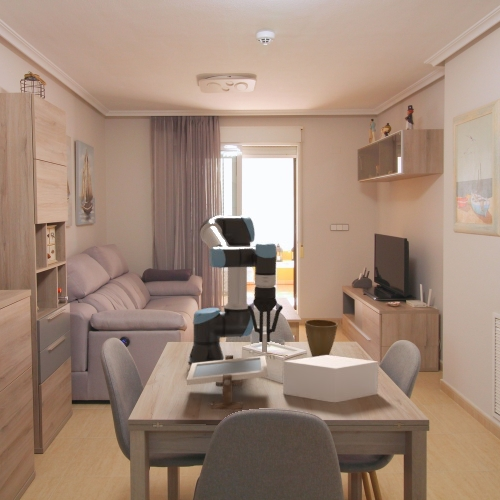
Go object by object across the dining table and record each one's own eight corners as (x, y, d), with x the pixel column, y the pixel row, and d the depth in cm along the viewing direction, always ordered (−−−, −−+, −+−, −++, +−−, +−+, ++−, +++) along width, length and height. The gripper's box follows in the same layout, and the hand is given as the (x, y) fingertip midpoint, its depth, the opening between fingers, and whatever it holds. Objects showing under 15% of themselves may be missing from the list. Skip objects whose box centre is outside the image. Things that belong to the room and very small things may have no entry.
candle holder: (263, 357, 241) (264, 331, 240) (245, 353, 246) (245, 328, 246) (274, 352, 250) (274, 327, 249) (256, 349, 255) (256, 324, 254)
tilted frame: (186, 386, 180) (186, 380, 179) (192, 367, 201) (192, 362, 201) (268, 377, 180) (267, 372, 180) (265, 360, 201) (265, 355, 201)
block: (280, 386, 201) (281, 354, 200) (371, 386, 202) (372, 355, 202) (285, 402, 184) (285, 368, 183) (384, 403, 185) (385, 368, 184)
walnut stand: (212, 408, 177) (212, 376, 176) (216, 382, 204) (216, 354, 204) (241, 408, 177) (241, 377, 177) (241, 382, 204) (242, 355, 204)
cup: (274, 359, 237) (274, 337, 237) (288, 363, 232) (288, 341, 231) (262, 363, 232) (262, 340, 231) (275, 367, 226) (275, 344, 225)
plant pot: (300, 359, 239) (300, 324, 237) (309, 351, 252) (310, 318, 251) (332, 362, 233) (333, 327, 232) (339, 354, 247) (340, 321, 246)
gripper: (247, 287, 184) (246, 353, 186) (284, 287, 184) (283, 353, 186) (247, 284, 192) (246, 348, 194) (282, 284, 192) (281, 348, 194)
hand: (264, 350), depth 190 cm, fingers closed
